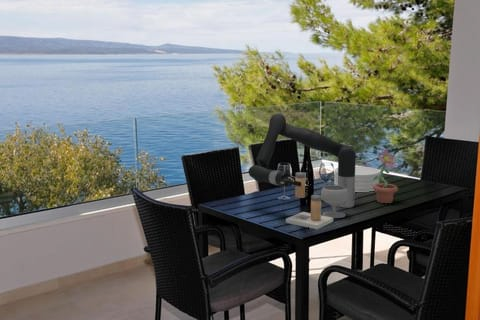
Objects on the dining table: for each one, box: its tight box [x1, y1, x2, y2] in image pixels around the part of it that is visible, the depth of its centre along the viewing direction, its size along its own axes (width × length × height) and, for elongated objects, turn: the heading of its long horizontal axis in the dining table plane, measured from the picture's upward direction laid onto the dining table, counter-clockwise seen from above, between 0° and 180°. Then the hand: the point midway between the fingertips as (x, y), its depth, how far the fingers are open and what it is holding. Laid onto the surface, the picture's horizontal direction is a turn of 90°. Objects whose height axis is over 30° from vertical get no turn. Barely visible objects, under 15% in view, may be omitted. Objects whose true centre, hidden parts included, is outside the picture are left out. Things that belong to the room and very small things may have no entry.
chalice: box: [320, 184, 348, 219], centre depth 277 cm, size 14×14×15 cm
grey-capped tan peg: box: [294, 171, 307, 199], centre depth 266 cm, size 5×5×12 cm
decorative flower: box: [373, 149, 399, 205], centre depth 302 cm, size 15×14×30 cm
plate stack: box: [333, 165, 380, 192], centre depth 340 cm, size 28×28×12 cm
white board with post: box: [285, 194, 334, 230], centre depth 266 cm, size 16×18×14 cm
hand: (304, 183), depth 264 cm, fingers closed on grey-capped tan peg, 5 cm apart
